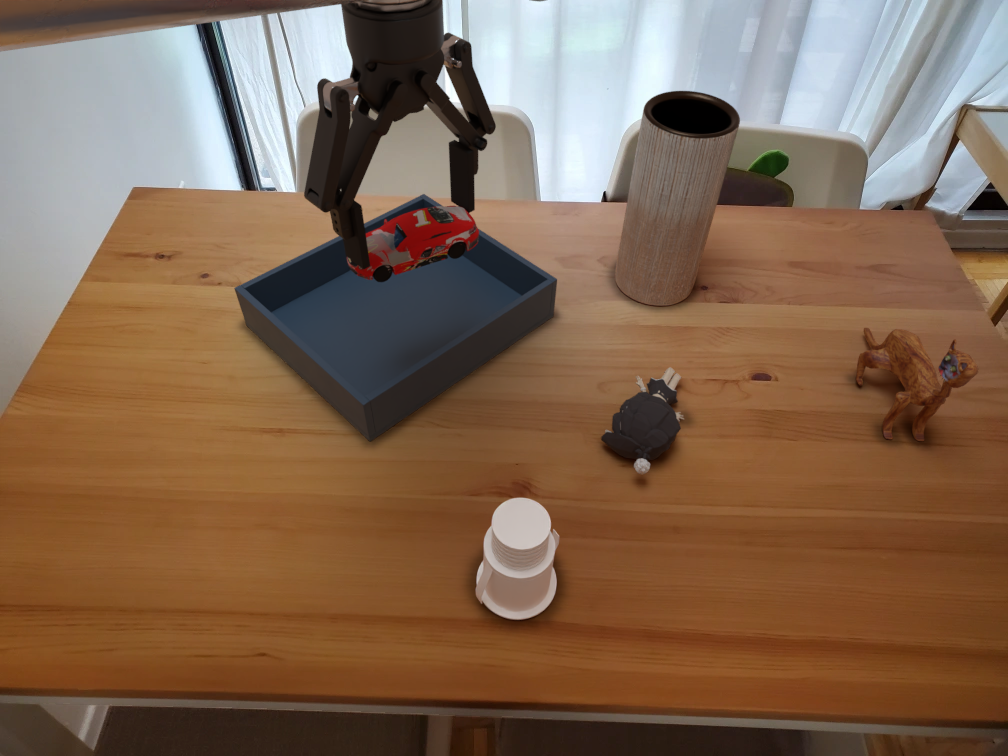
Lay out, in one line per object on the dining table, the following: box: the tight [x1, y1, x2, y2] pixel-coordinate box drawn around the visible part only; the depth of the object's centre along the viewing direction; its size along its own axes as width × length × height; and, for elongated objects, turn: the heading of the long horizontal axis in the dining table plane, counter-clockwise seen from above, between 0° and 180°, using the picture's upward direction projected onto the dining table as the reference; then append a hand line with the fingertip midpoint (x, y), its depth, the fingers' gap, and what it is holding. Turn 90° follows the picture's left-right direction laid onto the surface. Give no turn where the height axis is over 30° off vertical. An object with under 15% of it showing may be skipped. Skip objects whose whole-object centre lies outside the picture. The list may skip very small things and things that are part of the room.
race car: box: [347, 205, 479, 282], centre depth 69 cm, size 13×5×4 cm, turn 118°
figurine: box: [600, 366, 685, 475], centre depth 73 cm, size 7×6×15 cm
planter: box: [614, 90, 741, 306], centre depth 83 cm, size 10×10×23 cm
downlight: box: [475, 497, 561, 621], centre depth 60 cm, size 8×7×10 cm
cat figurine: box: [855, 327, 980, 442], centre depth 75 cm, size 18×7×14 cm, turn 177°
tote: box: [234, 193, 558, 443], centre depth 83 cm, size 28×24×6 cm
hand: (412, 232), depth 69 cm, fingers closed on race car, 12 cm apart
